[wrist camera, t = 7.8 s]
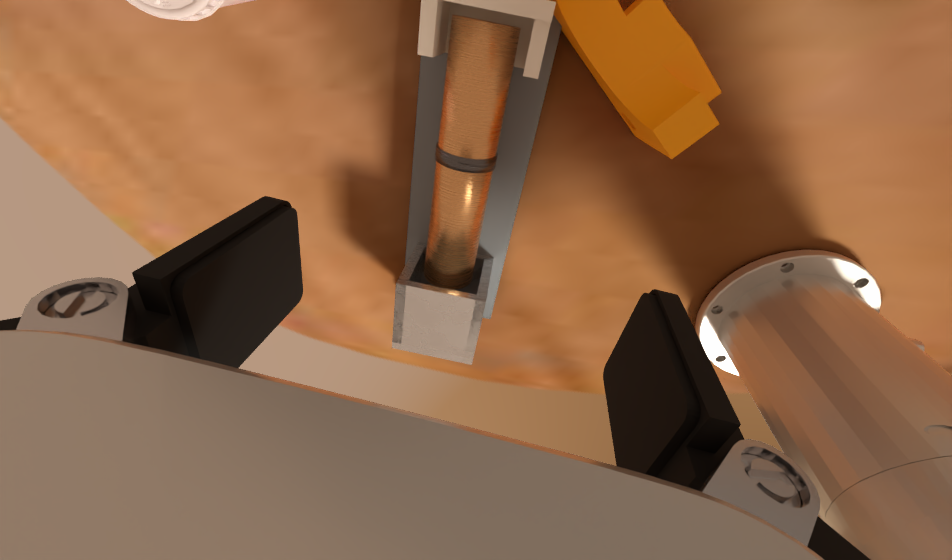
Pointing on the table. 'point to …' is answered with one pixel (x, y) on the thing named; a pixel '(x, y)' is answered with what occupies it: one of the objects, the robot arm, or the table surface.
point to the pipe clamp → (644, 68)
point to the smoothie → (182, 8)
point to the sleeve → (439, 311)
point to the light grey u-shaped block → (505, 3)
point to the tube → (467, 145)
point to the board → (510, 160)
